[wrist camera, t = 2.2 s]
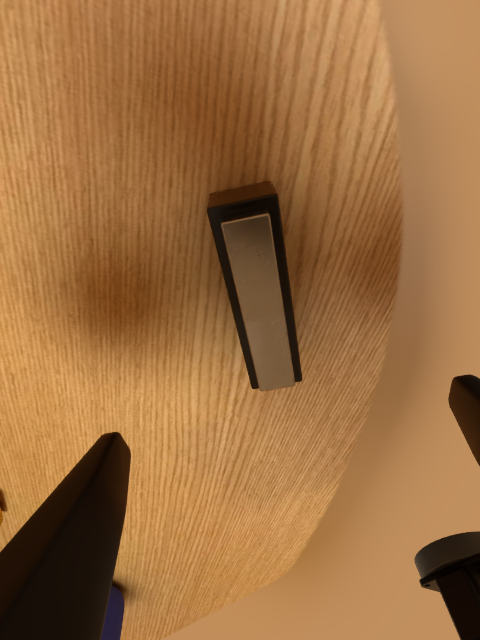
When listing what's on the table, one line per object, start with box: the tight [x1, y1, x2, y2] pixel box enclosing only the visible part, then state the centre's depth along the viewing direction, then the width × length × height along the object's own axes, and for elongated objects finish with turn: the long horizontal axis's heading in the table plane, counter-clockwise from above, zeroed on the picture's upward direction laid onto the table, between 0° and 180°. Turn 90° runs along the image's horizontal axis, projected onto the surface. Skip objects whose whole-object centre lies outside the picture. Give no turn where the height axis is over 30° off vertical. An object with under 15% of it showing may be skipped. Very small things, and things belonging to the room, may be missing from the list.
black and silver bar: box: [207, 181, 302, 391], centre depth 14 cm, size 9×2×3 cm, turn 11°
